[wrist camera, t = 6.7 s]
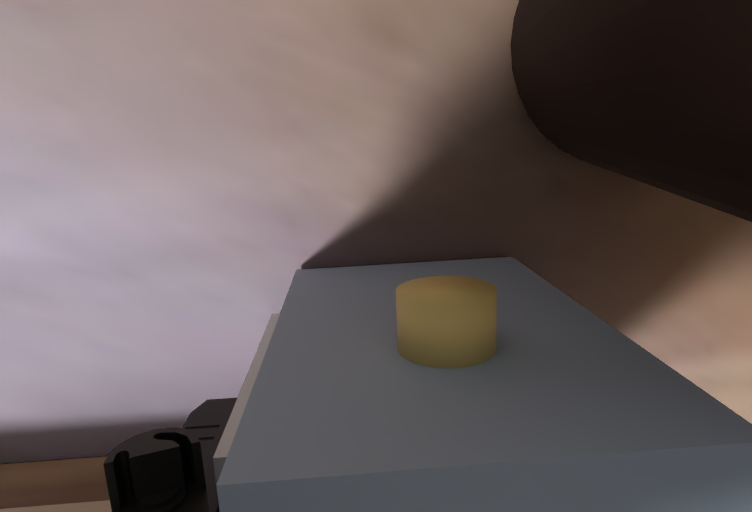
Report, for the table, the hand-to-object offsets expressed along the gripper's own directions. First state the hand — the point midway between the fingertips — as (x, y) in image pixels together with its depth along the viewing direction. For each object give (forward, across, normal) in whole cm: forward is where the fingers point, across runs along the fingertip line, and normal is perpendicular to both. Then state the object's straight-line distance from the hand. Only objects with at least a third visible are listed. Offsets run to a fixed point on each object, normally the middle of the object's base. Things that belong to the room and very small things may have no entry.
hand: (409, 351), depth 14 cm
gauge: (0, 0, -5) cm, 5 cm away
